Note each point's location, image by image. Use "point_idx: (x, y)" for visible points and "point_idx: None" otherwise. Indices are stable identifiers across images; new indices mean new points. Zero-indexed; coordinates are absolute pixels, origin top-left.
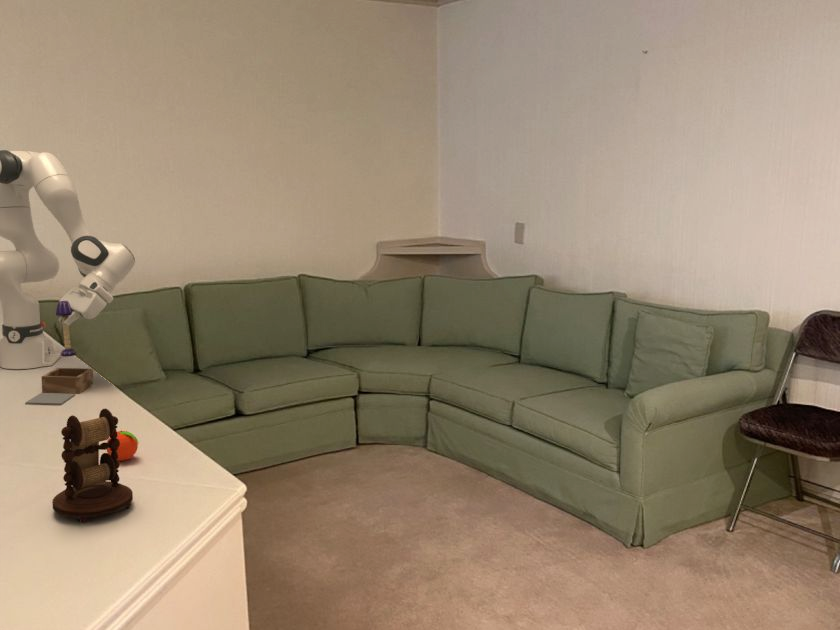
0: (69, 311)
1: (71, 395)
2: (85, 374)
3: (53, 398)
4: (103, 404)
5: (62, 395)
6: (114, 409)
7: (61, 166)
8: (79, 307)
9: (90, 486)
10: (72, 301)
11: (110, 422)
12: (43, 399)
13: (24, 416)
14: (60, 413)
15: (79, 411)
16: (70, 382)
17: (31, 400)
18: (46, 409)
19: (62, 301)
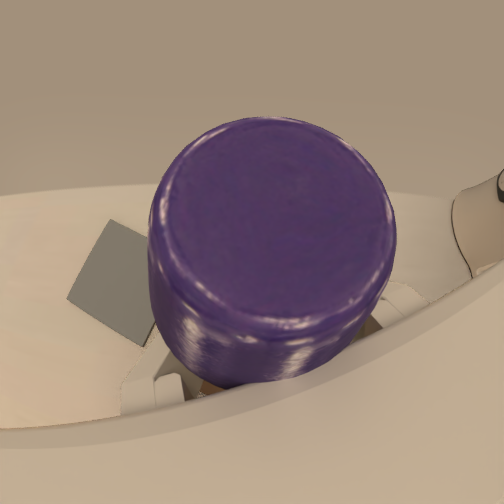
0: (172, 347)
1: (128, 335)
2: (201, 391)
3: (116, 285)
4: (44, 394)
5: (138, 311)
6: (8, 401)
7: None
8: (15, 470)
9: None
10: (450, 412)
11: None
12: (117, 260)
13: (31, 220)
14: (16, 290)
15: (14, 330)
16: None
17: (121, 232)
18: (52, 264)
19: (288, 185)
